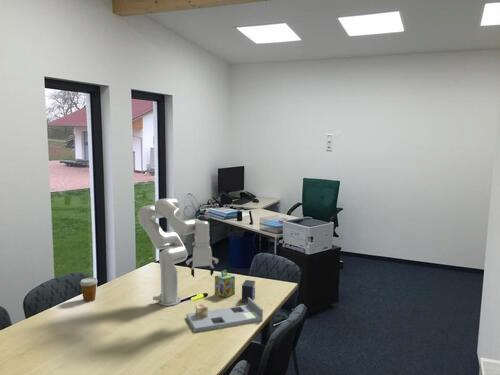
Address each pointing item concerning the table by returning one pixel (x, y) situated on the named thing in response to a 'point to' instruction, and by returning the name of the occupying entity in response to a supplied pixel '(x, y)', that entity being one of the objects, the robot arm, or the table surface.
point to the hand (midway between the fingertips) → (202, 275)
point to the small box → (248, 291)
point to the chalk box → (224, 284)
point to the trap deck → (227, 317)
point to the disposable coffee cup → (89, 289)
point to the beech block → (201, 310)
